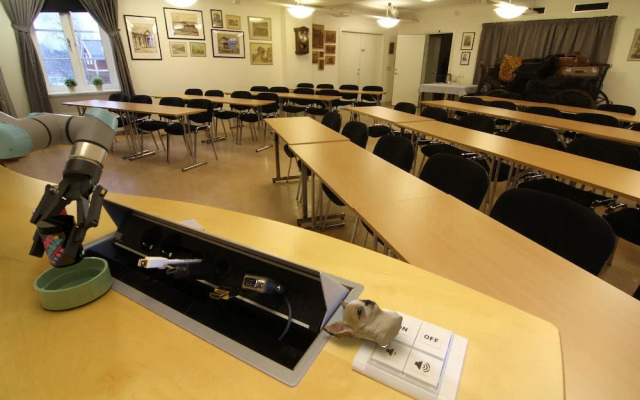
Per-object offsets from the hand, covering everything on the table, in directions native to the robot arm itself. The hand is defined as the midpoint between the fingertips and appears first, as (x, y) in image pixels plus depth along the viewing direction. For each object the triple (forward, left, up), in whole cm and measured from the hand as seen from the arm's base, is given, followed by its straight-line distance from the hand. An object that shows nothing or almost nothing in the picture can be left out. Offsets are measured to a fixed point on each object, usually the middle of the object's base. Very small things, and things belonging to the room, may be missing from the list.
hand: (52, 256), depth 70 cm
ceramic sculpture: (+68, -8, -12) cm, 70 cm away
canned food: (-26, +30, -12) cm, 41 cm away
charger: (+17, +28, -12) cm, 35 cm away
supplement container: (0, +4, -4) cm, 5 cm away
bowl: (0, +4, -12) cm, 13 cm away
